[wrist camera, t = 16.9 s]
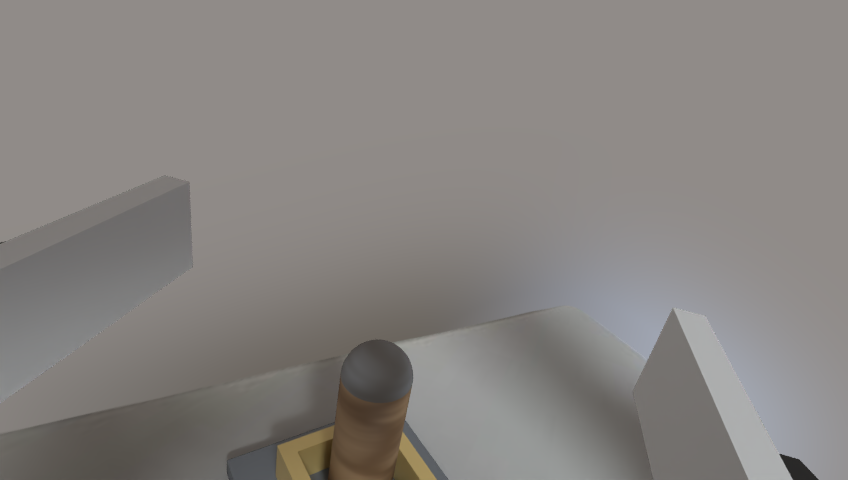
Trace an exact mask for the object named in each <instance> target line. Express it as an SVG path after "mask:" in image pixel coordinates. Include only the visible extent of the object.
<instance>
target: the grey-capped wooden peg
mask: <svg viewBox="0 0 848 480" xmlns="http://www.w3.org/2000/svg"><path fill="white" fill-rule="evenodd" d="M412 383H413V370H412V365H411V362H410V360H409V358H408V356H407V355H406V353H405V352H404V351H403V350H402V349H401V348H400V347H398V346H397V345H395V344H394V343H392V342H388V341H385V340H371V341H367V342H364V343H362V344H360V345H358V346H357V347H356V348H354V349H353V350H352V351H351V352H350V353H349V354H348V356H347V358H346V359H345V361H344V363H343V366H342V370H341V376H340V384H339V393H338V401H337V409H336V417H335V426H334V434H333V442H332V451H331V459H330V467H329V475H328V480H393V476H394V471H395V466H396V461H397V457H398V452H399V447H400V442H401V437H402V432H403V427H404V422H405V417H406V412H407V407H408V402H409V397H410V393H411V388H412Z"/></svg>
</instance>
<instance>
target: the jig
mask: <svg viewBox="0 0 848 480" xmlns="http://www.w3.org/2000/svg"><path fill="white" fill-rule="evenodd" d="M334 426H335V422H334V423H331V424H328V425H326V426H323V427H320V428H317V429H314V430H311V431H309V432H306V433H303V434H300V435H297V436H295V437H292V438H289V439H286V440H283V441H280V442H278V443H275V444H272V445H269V446H266V447H263V448H261V449H258V450H255V451H252V452H249V453H247V454H244V455H241V456H238V457H235V458H232V459H230V460H227V474H228V477H229V480H328V475H329V467H330V459H331V451H332V442H333V434H334ZM393 480H448V478H447V477H446V476H445V474H444V473H443V472H442V470H441V469H440V467H439V466H438V465H437V463H436V462H435V461H434V459H433V458H432V456H431V455H430V454H429V452H428V451H427V450H426V448H425V447H424V445H423V444H422V443H421V441H420V440H419V439H418V437H417V436H416V434H415V433H414V432H413V430H412V429H411V428H410V426H409V425H408V423H407V422H406V421H405V422H404V427H403V432H402V437H401V442H400V447H399V452H398V457H397V461H396V466H395V471H394V476H393Z"/></svg>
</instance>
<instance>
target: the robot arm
mask: <svg viewBox="0 0 848 480" xmlns="http://www.w3.org/2000/svg"><path fill="white" fill-rule="evenodd" d="M192 267H193V260H192V235H191V212H190V186H189V182H188V181H184V180H180V179H176V178H173V177H168V176H162V177H160V178H157V179H155V180H153V181H150V182H148V183H145V184H143V185H141V186H138V187H136V188H133V189H131V190H128V191H126V192H124V193H121V194H119V195H117V196H114V197H112V198H109V199H107V200H105V201H102V202H100V203H97V204H95V205H93V206H90V207H88V208H86V209H83V210H81V211H78V212H76V213H73V214H71V215H68V216H66V217H64V218H61V219H59V220H56V221H54V222H52V223H49V224H47V225H44V226H42V227H40V228H37V229H35V230H33V231H30V232H27V233H25V234H23V235H20V236H18V237H15V238H13V239H11V240H8V241H5V242H1V243H0V403H1V402H3V401H4V400H6V399H7V398H9V397H10V396H11V395H13V394H14V393H16V392H17V391H19V390H20V389H21V388H22V387H24V386H25V385H27V384H28V383H30V382H31V381H32V380H34V379H35V378H37V377H38V376H40V375H41V374H43V373H44V372H45V371H47V370H48V369H49V368H51V367H52V366H54V365H55V364H57V363H58V362H59V361H61V360H62V359H64V358H65V357H66V356H68V355H69V354H71V353H72V352H73V351H75V350H76V349H78V348H79V347H81V346H82V345H83V344H85V343H86V342H88V341H89V340H90V339H92V338H93V337H94V336H96V335H98V334H99V333H100V332H102V331H103V330H104V329H106V328H107V327H109V326H110V325H112V324H113V323H114V322H116V321H117V320H119V319H120V318H122V317H123V316H124V315H126V314H127V313H128V312H130V311H131V310H133V309H134V308H135V307H137V306H138V305H140V304H141V303H143V302H144V301H146V300H147V299H148V298H150V297H151V296H152V295H154V294H155V293H157V292H158V291H160V290H161V289H162V288H163V287H165V286H167V285H168V284H170V283H171V282H172V281H174V280H175V279H176V278H178V277H179V276H181V275H182V274H184V273H185V272H186V271H188V270H189V269H191V268H192ZM633 395H634V400H635V404H636V408H637V412H638V417H639V421H640V425H641V430H642V434H643V438H644V442H645V447H646V451H647V455H648V460H649V464H650V468H651V473H652V477H653V480H818V479H817V478H816V477H815V476H814V474H813V473H812V472H811V471H810V470H809V469H808V468H807V467H806V466H805V465H804V464H803V463H802V462H801V461H800V460H799V459H796V458H792V457H789V456H785V455H782V454H779V453H778V451H777V449H776V447H775V446H774V444H773V442H772V440H771V438H770V436H769V434H768V432H767V431H766V429H765V427H764V425H763V424H762V421H761V419H760V417H759V416H758V414H757V412H756V410H755V408H754V406H753V404H752V403H751V401H750V399H749V397H748V395H747V393H746V391H745V389H744V388H743V386H742V384H741V382H740V380H739V378H738V376H737V374H736V373H735V371H734V369H733V367H732V365H731V364H730V362H729V359H728V358H727V356H726V354H725V352H724V350H723V348H722V346H721V345H720V343H719V341H718V339H717V337H716V335H715V333H714V331H713V329H712V328H711V326H710V324H709V322H708V320H707V318H706V316H703V315H700V314H696V313H692V312H688V311H684V310H680V309H677V308H673V309H672V311H671V313H670V315H669V317H668V319H667V321H666V323H665V325H664V327H663V329H662V331H661V334H660V336H659V338H658V340H657V342H656V344H655V346H654V348H653V350H652V352H651V354H650V356H649V359H648V361H647V363H646V365H645V367H644V369H643V371H642V373H641V375H640V377H639V379H638V381H637V384H636V386H635V388H634V390H633Z"/></svg>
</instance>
